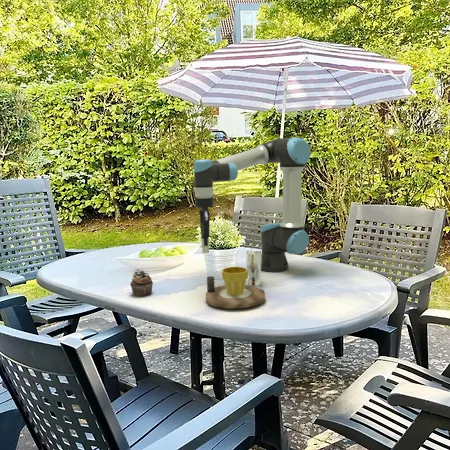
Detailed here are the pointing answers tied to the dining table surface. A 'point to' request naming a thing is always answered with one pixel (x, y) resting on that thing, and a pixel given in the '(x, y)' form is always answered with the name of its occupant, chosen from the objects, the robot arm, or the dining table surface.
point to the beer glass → (254, 267)
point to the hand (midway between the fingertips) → (205, 252)
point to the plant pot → (235, 279)
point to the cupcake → (141, 284)
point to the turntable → (233, 296)
